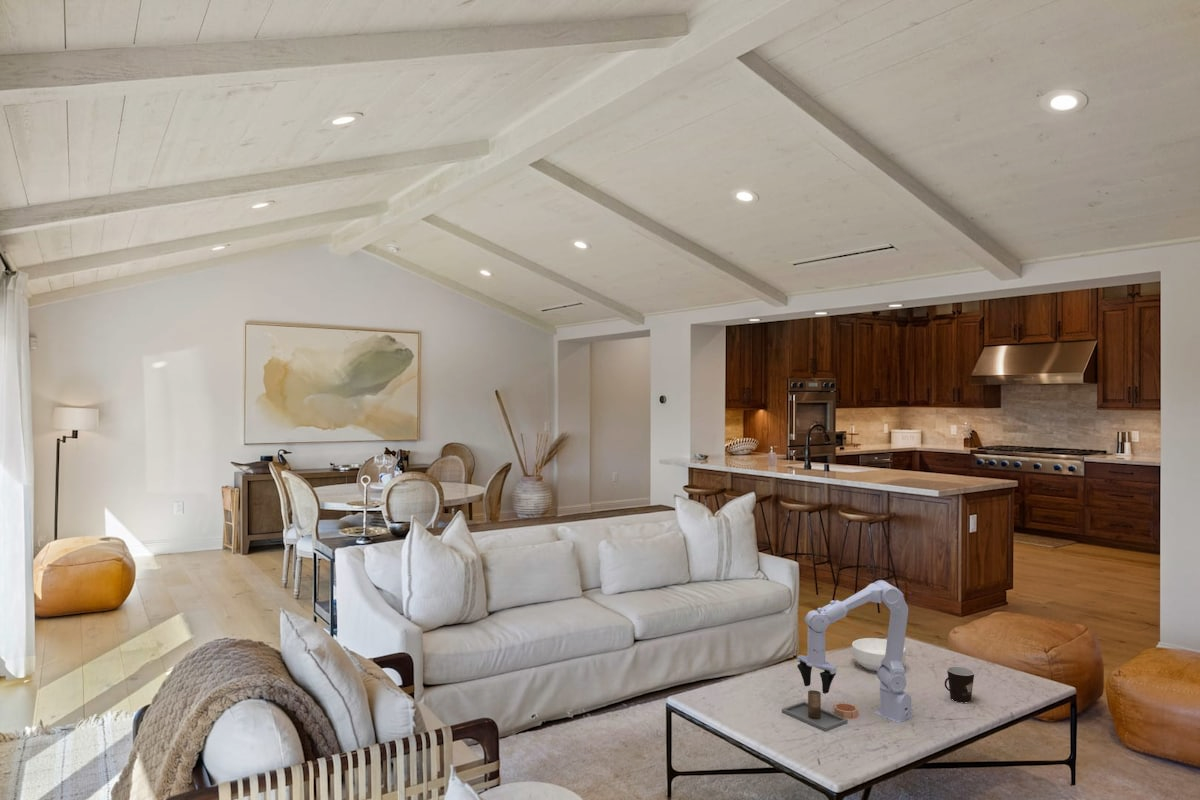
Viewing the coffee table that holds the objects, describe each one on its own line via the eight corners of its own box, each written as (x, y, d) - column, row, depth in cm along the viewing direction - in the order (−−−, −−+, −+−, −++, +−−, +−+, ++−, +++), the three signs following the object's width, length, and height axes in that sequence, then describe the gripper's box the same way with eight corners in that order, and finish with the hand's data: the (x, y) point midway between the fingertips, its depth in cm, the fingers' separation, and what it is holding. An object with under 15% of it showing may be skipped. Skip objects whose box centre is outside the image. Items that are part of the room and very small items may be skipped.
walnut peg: (823, 717, 255) (823, 693, 255) (814, 720, 253) (814, 695, 253) (813, 713, 259) (813, 689, 259) (805, 716, 257) (805, 692, 256)
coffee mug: (966, 694, 276) (966, 666, 276) (979, 704, 267) (979, 675, 267) (934, 695, 275) (934, 666, 275) (945, 704, 267) (945, 675, 267)
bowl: (900, 680, 289) (900, 657, 289) (846, 670, 300) (846, 648, 299) (909, 664, 306) (909, 643, 306) (858, 655, 316) (858, 635, 316)
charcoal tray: (847, 724, 252) (847, 719, 252) (825, 732, 245) (825, 728, 245) (803, 705, 266) (803, 701, 266) (781, 713, 260) (781, 709, 260)
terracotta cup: (864, 716, 258) (864, 708, 258) (848, 722, 253) (848, 714, 253) (843, 707, 265) (843, 700, 265) (827, 713, 260) (827, 706, 260)
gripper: (791, 644, 260) (791, 685, 261) (826, 656, 249) (826, 699, 249) (805, 640, 264) (805, 680, 265) (840, 652, 253) (840, 693, 253)
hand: (816, 689), depth 257 cm, fingers open, 7 cm apart
